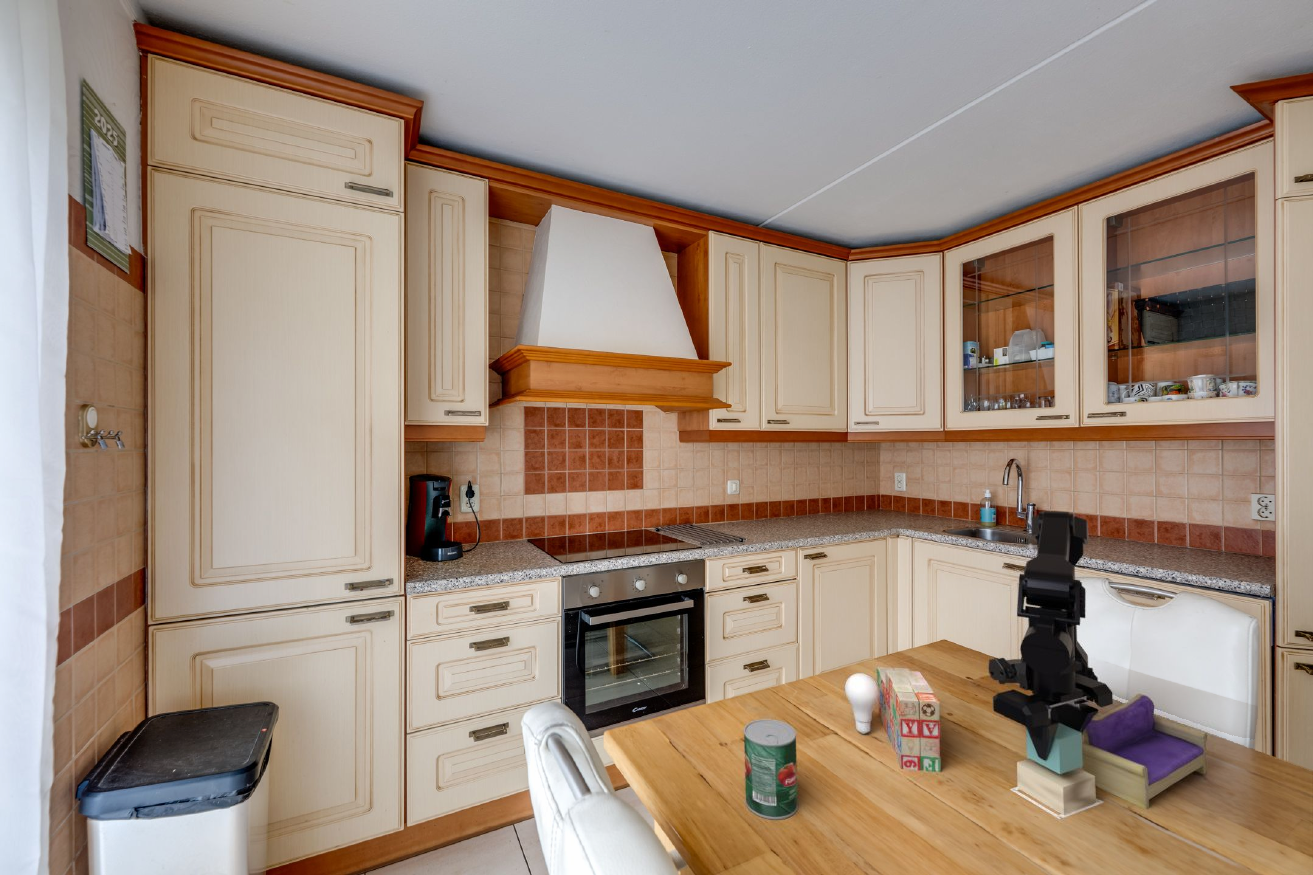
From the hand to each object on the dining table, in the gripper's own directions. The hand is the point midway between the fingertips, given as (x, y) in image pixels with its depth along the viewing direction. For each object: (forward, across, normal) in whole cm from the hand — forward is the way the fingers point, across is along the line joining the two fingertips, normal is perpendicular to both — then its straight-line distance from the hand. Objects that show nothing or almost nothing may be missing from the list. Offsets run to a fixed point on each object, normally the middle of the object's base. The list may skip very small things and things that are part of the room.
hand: (1054, 754), depth 87 cm
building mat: (+7, 0, -1) cm, 7 cm away
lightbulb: (+7, +13, -27) cm, 31 cm away
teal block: (+1, 0, 0) cm, 1 cm away
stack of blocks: (+7, +8, -22) cm, 24 cm away
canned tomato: (+7, +40, -16) cm, 44 cm away
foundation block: (+6, 0, 0) cm, 6 cm away
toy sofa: (+7, -18, +2) cm, 19 cm away
